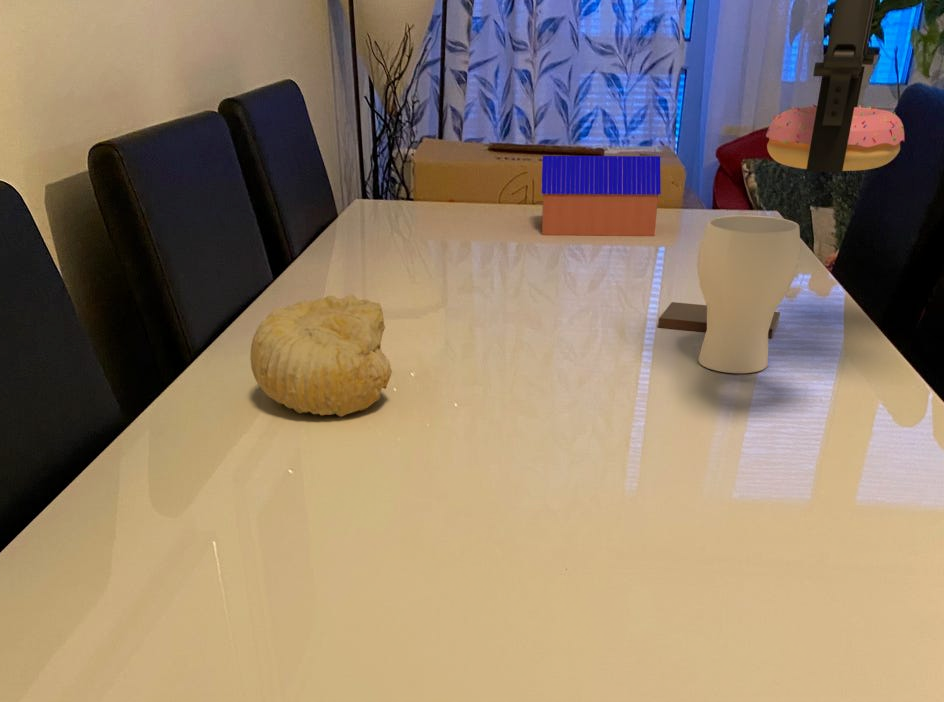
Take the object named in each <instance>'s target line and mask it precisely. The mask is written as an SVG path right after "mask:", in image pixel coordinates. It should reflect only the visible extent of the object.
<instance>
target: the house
mask: <svg viewBox="0 0 944 702" xmlns="http://www.w3.org/2000/svg"><path fill="white" fill-rule="evenodd" d="M661 189H662V188H661V156H660V155H542V167H541V194H542V212H541V214H542V215H541V217H542V218H541V235H542V236H634V237H635V236H636V237H637V236H638V237H639V236H641V237H642V236H643V237H647V236H648V237H649V236H650V237H654V236H655V235H656V225H657V224H656V223H657V214H658V213H657V212H658V205H659V204H658V203H659V195H661V194H662V193H661Z"/></svg>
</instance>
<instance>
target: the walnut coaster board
mask: <svg viewBox="0 0 944 702" xmlns="http://www.w3.org/2000/svg"><path fill="white" fill-rule="evenodd" d="M780 318H781V312H780V311H774V315H773V318H772V321H771V325H770V328H769V331H768V340H771V339H773V336H774V334H775V331H776V329H777V326H778V325H779V323H780ZM657 327H658V328H662V329H670V330H671V329H672V330H679V331H690V332H700V333H706V331H707V305H706V304H698V303H696V304H695V303H688V302H687V303H686V302H678V301H677V302H675V301H671V302H670V304H669V305H668V306H667V308H666V309H665V310H664V311H663V313H662V314H661V315H660V316H659V318H658V325H657Z"/></svg>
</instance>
